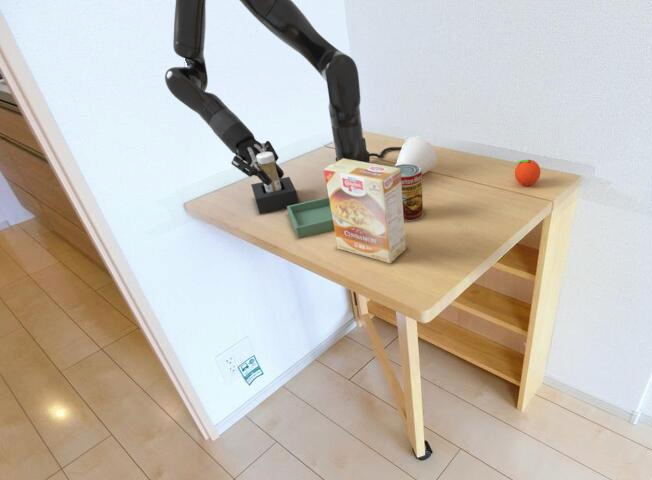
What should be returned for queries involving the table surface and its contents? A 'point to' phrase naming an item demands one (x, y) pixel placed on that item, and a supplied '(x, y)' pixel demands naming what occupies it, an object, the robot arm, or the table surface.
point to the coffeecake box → (367, 208)
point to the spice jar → (269, 170)
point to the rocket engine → (417, 154)
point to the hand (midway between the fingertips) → (276, 179)
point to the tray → (311, 217)
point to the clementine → (527, 172)
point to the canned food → (411, 191)
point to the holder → (275, 196)
